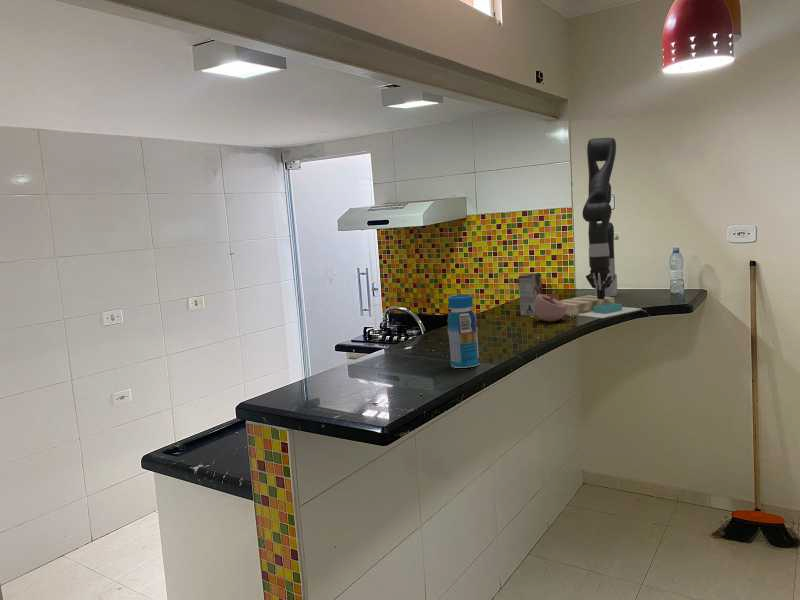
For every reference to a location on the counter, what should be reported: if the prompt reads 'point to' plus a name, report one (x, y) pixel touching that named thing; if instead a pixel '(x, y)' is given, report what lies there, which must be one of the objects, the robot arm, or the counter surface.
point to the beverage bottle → (462, 332)
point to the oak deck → (584, 304)
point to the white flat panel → (600, 315)
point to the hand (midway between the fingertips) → (601, 299)
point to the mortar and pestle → (549, 307)
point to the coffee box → (529, 292)
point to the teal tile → (607, 308)
